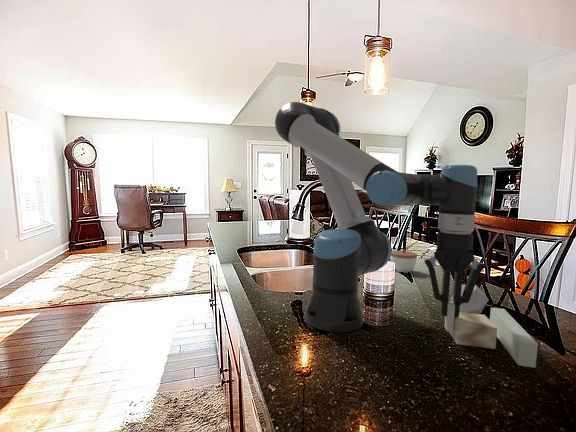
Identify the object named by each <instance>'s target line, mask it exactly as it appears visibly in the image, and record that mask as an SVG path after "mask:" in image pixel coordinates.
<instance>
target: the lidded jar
mask: <svg viewBox="0 0 576 432" xmlns="http://www.w3.org/2000/svg"><path fill="white" fill-rule="evenodd" d="M417 257H418V254H417V253H415V252H412V251H407V250H406V249H405V248H402V250H392V251H391V256H390V259H389V261H390V262H391V261H392V262H394V263H395V269H396V271H395V272H397V273H401V272H403V273H402V274H408V272H409V273H411V271H413V270H414V269H415V267H416V264H417ZM395 269H394V270H395Z"/></svg>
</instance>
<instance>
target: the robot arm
mask: <svg viewBox="0 0 576 432" xmlns="http://www.w3.org/2000/svg"><path fill="white" fill-rule="evenodd" d="M274 126H275V130H276V132H277V134H278V136H279V138H281V139H283V140H284V141H286V142H287V143H288V144H290V145H291V146H293V147H294V148H302V150H303V152H304V155H305V156H306V157H308V158H310V159H311V160H312V162H313V165H314V168H315V170H316V173H317V175H318V178H319V180H320V184H321V185H322V187H323V190H324V193H325V195H326V198H327V201H328V204H329V206H330V208H331V211H332V214H333V216H334V218H335V222H336V224H337V226H338V228H336V229H327V230H323V231H321V232H318V233H317V235H316V236H315V238H314V245H313V247H312V248H313V262H312V264H313V265H312V266H313V267H312V268H313V269H312V290H311V293H310V295H309V299H308V300H307V301H308V302H307V303H306V306H305V309H304V321H305V322H306V324H307V325H308V326H310V327H312V328H315V329H317V330H320V331H324V332H327V333H328V332H329V333H350V332H355V331H357V330H359V329H361V328H362V327H363V325H364V312H363V308H362V305H361V301H360V297H359V293H358V292H359V277H360V276H363V275H366V274H370V273H373V272H375V271H379V270H380V269H382V268H384V267H385V266H386V265H387V264H388V263H389V261H390V256H391V251H393V249H392V243H391V241H390V238H389V237H388V236H387V235H386V233H384V232H382V231H380V230H379V229H378V228H377V225H376V222H375V221H374V219H372V218H370V217H368V216H367V215H366V213H365V211H364V208H363V205H362V203H361V201H360V198H359V196H358V194H357V191H356V189H355V187H354V186H355V185H357V186H358V187H360V189H362V190H364V191H365V192H366V195H367V196H368V198H369V200H370V201H371V202H372V203H374V204H375V205H379V206H383V207H393V206H407V205H409V206H410V205H421V206H422V205H423V206H425V205H426V206H428V205H429V206H438V207H439V208H438V222H437V223H438V225H437V229H438V230H440V231H438V232H437V239H436V240H437V241H436V250H435V251H434V253H433V255H432V256H429V257H425V258H424V259H423V261H424V263H425V265H426V267H427V268H428V272H429V273H428V274H429V278H430V279H429V280H430V285H431V287H432V288H431V289H432V293H433V297H434V299H435V300H436V301H440V303H441V305H440V313H441V315H442V317H444V329H445V331H446V332H449V333H450V332H453V327H454V317H457V318H458V317H459V312H460V305H461V304H462V303H468V302H469V301H470V298H471V295H472V292H473V289H474V287H475V285H477V284H476V283H477V281H478V277H479V275H480V273H481V272H482V271H483V270H484V269H485V265H484V264H483V263H482V262H480V261H478V260H476V258H475V255H474V251H473V248H474V247H473V246H474V235H473V233H472V232H474V231H475V217H476V214H475V213H476V203H477V193H478V188H479V184H478V168H477V167H476V166H474V165H472V164H471V165H470V164H450V165H449V164H447V165H443V166H442V168H441V171H440V173H436V174H435V173H434V174H425V173H424V174H419V173H418V174H417V173H408V172H401V171H400V172H399V171H398V170H396V169H394V168H392V167H391V166H389V165H387V164H386V163H384V162H383V161H381V160H379V159H377V158H376V157H374V156H372V155H371V154H369V153H367V152H365V151H364V150H362V149H360V148H359V147H357V146H356V145H355V144H352V143H350V141H347V140H346V139H344V138H342V137H341V136H340V132H341V124H340V122H339V119H338V117H337V116H336V115H335V114H334V113H332V112H331V111H329V110H328V109H325V108H323V107H321V108H320V107H316V106H313V105H310V104H306V103H303V102H300V101H292V102H288V103H285V104H284V105H283V106H281V107H280V108H279V110H278V112H277V113H276V116H275V120H274ZM353 183H354V184H355V185H354V184H353ZM436 262H437V263H438V264H439V266H440V267H441V269H442V281H441V282H442V285H441V293H440V289H439V283H438V279H437V275H436V273H437V272H436V269H435V266H436ZM469 266H470V268H471V269H470V272H469V275H468V277H467V280H466V283H465V284H464V285H465V288H464V291H463V294H462V296H461V289H462V285H463V276H464V271H465V270H466V269H467V268H468V267H469ZM452 272H454V276H453V279H454V280H453V291H452V292H453V293H452V294H453V295H452V296H453V301H452V300H449V297H450V286H451V284H450V283H451V275H452Z"/></svg>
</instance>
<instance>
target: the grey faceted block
mask: <svg viewBox="0 0 576 432" xmlns="http://www.w3.org/2000/svg"><path fill="white" fill-rule="evenodd" d="M465 285H466V284H462V289H461V296H462V294H463V291H464V288H465ZM450 301H453V295H452V297H451V298H450ZM488 301H489V298H488V297H487V296H486V294H485V293H484V292H483V291H482V289H480V288H479V286H478V285H477V284H475V287H474V289H473V292H472V295H471V298H470V301H469V302H468V303H462V304H461V305H460V310H459V312H464V313H473V314H481V313H482V312H483V310H484V308H485V307H486V305H487V303H488Z"/></svg>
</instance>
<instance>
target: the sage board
mask: <svg viewBox="0 0 576 432" xmlns="http://www.w3.org/2000/svg"><path fill="white" fill-rule="evenodd" d="M489 320H490V321H491V322H492V323H493V324H494V325H495V326H496V327H497V337H496V338H497V339H498V340H499V341H500V343H501V344H502V345H503V347H504V349H506V351H507V352H508V353H509V355H510V356H511V358H512V359H513V360H514V362H515V363H516V364H517V366H522V367H529V368H536V366H537V357H538V346H539V344H538V342H537V341H536V340H535V339H534V338H533V337H532V336H531V335H530V334H529V333H528V332H527V331H526V330H525V329H524V328H523V327H522V326H521V325H520V323H518V322H517V321H516V319H514V317H512V315H511V314H509V312H507V310H506V309H505V308H499V307H490V314H489Z"/></svg>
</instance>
